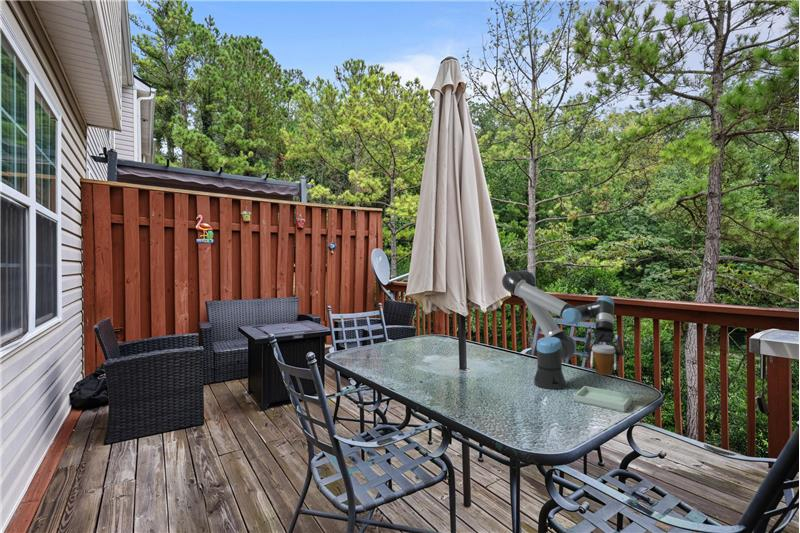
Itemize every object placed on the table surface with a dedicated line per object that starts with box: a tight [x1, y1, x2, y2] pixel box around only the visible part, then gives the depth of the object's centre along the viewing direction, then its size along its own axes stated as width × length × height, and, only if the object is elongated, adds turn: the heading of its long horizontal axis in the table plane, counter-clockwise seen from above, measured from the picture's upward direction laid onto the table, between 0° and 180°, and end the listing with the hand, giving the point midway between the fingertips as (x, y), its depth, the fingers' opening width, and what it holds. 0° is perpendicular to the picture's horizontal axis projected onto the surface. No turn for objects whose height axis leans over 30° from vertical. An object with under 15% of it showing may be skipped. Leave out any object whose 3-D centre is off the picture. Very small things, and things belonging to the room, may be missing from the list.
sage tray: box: [573, 385, 633, 413], centre depth 174 cm, size 20×16×3 cm
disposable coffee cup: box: [592, 343, 616, 376], centre depth 174 cm, size 10×10×12 cm
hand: (603, 366), depth 171 cm, fingers closed on disposable coffee cup, 8 cm apart
